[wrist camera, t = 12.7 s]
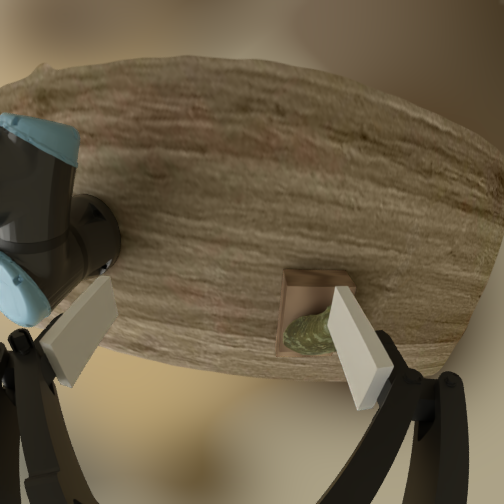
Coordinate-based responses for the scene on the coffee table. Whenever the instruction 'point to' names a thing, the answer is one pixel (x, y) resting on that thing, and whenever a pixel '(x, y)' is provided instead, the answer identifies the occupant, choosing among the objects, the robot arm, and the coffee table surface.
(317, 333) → the seashell
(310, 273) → the block
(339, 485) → the robot arm
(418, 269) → the coffee table surface
